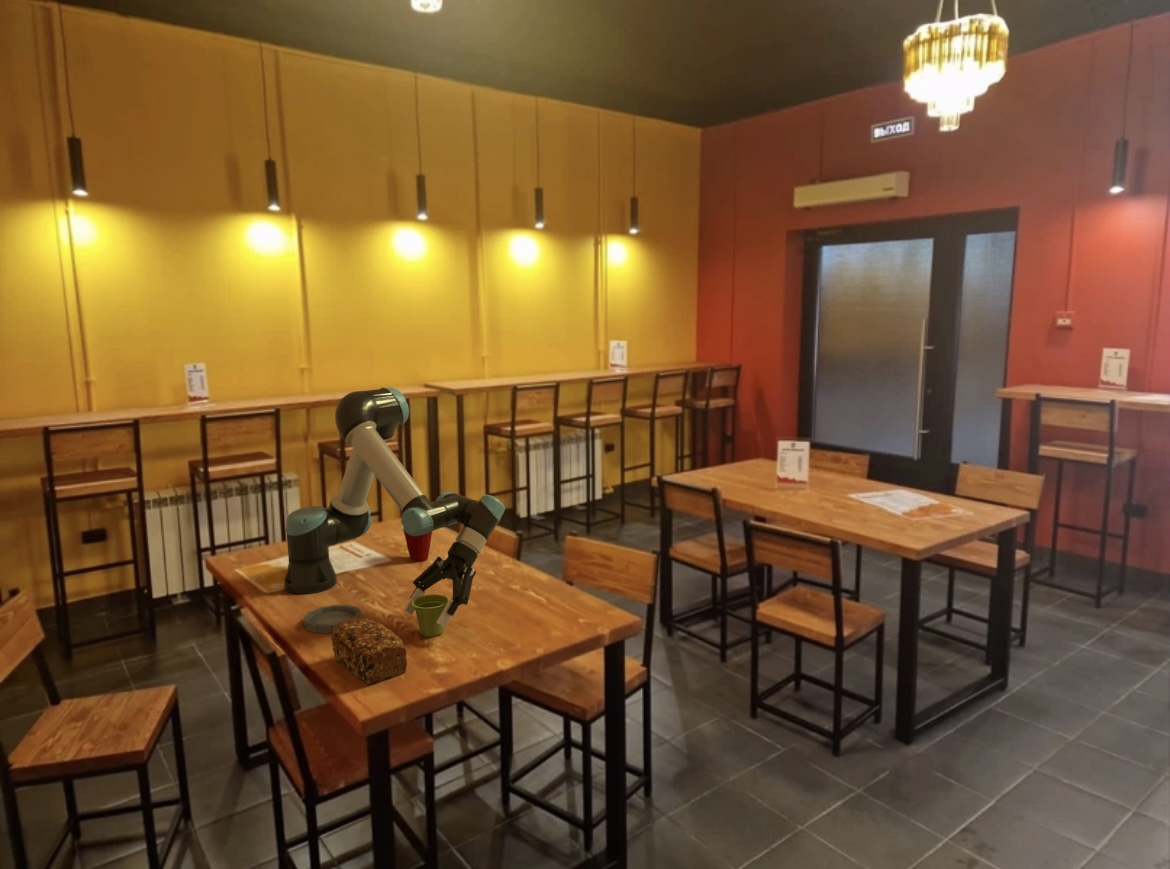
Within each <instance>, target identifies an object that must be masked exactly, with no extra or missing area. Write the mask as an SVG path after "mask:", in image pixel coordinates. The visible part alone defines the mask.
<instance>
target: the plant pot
mask: <svg viewBox="0 0 1170 869" xmlns="http://www.w3.org/2000/svg"><path fill="white" fill-rule="evenodd" d="M449 600H450V599H449V598H448V597H447V596H445V595H442V594H426V595H425V594H424V596H421V597H418V598H416V599H414V600H413V601H412V605H413V607H414V612H415V615H416V620H417V624H418V631H419V634H420V635H422V636H424V637H426V638H429V637H431V638H433V637H436V636H438V635H442V634H443V633H444V632H445V631H444V630H445V627H444V628H443V627H441V626H440V625H439V624H437V623H436V622H437V620H438V618H439V617H440V615H441V613H442V612H443V610H444V608H445V607H446V605H447V603H448V602H449Z"/></svg>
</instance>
